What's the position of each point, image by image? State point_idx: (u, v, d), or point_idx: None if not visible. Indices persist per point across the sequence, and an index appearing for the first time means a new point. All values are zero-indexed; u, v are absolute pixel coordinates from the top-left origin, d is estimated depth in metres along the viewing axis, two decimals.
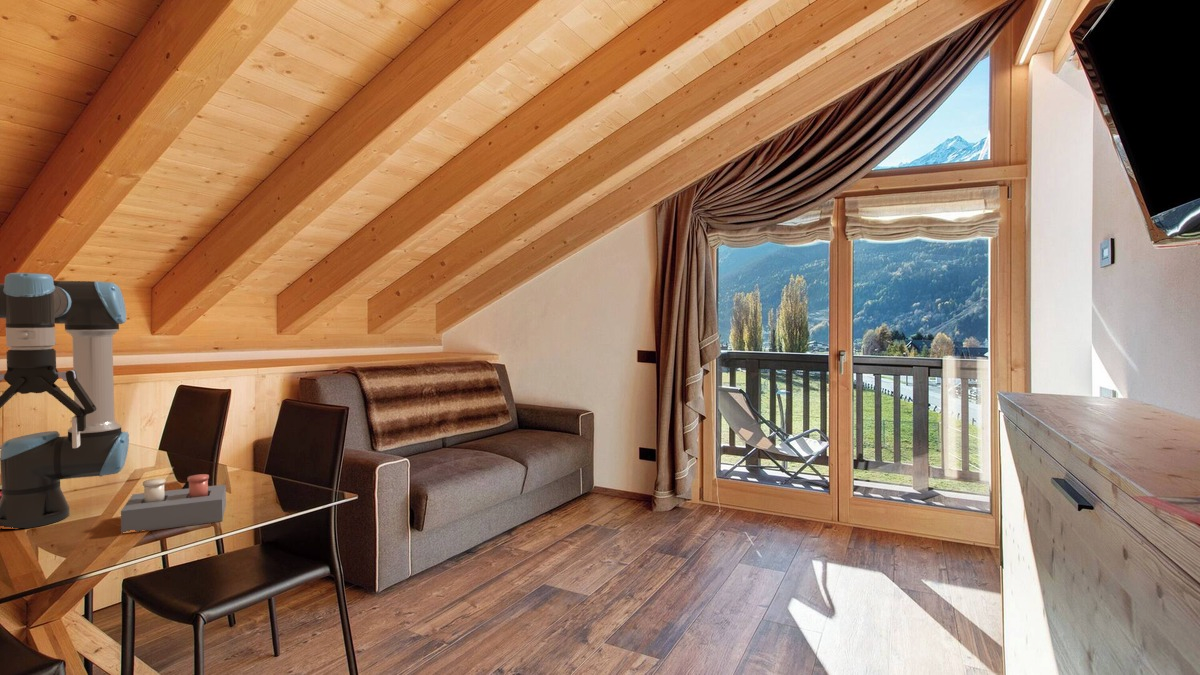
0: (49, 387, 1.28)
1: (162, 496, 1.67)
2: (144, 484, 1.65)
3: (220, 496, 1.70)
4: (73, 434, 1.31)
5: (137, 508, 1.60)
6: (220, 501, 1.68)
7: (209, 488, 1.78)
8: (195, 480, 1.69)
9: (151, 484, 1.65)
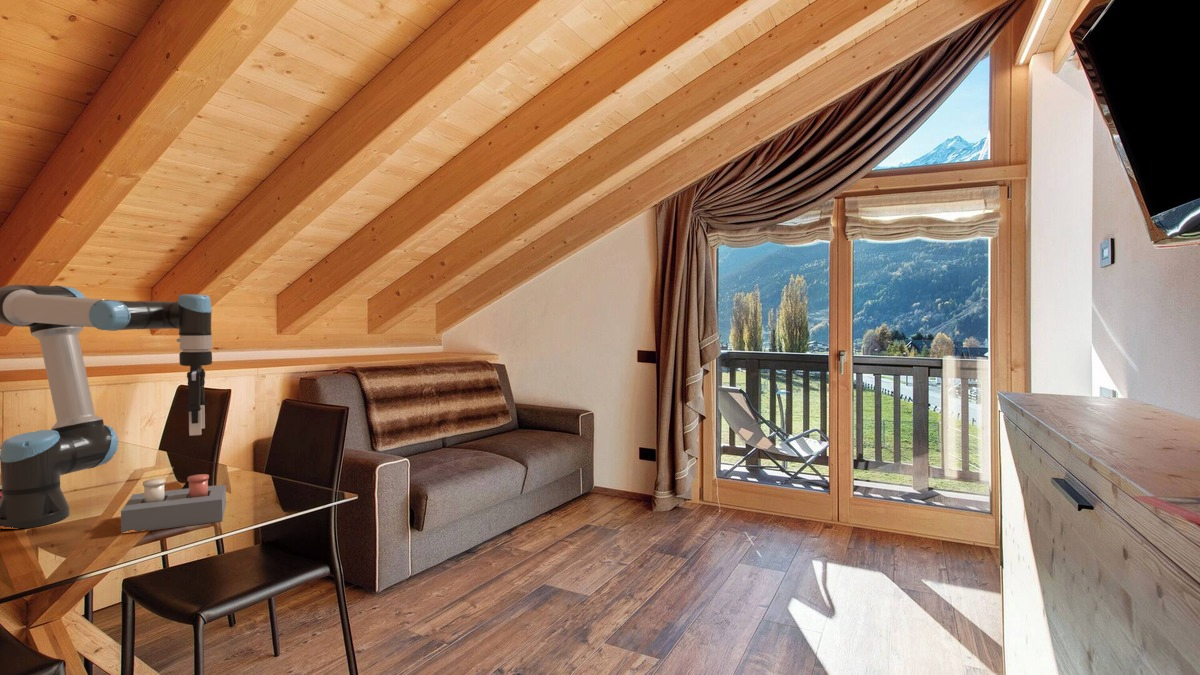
0: None
1: (162, 496, 1.67)
2: (144, 484, 1.65)
3: (220, 496, 1.70)
4: (189, 424, 1.66)
5: (137, 508, 1.60)
6: (220, 501, 1.68)
7: (209, 488, 1.78)
8: (195, 480, 1.69)
9: (151, 484, 1.65)
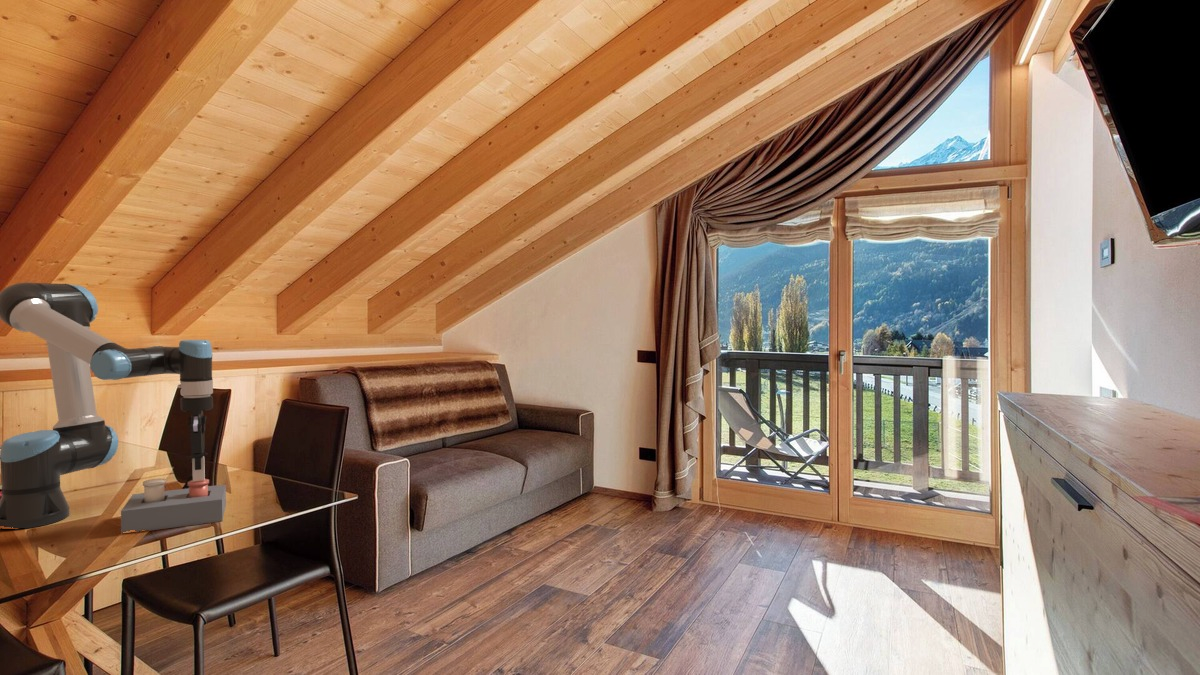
0: None
1: (162, 496, 1.67)
2: (144, 484, 1.65)
3: (220, 496, 1.70)
4: (192, 470, 1.71)
5: (137, 508, 1.60)
6: (220, 501, 1.68)
7: (209, 488, 1.78)
8: (195, 485, 1.69)
9: (151, 484, 1.65)
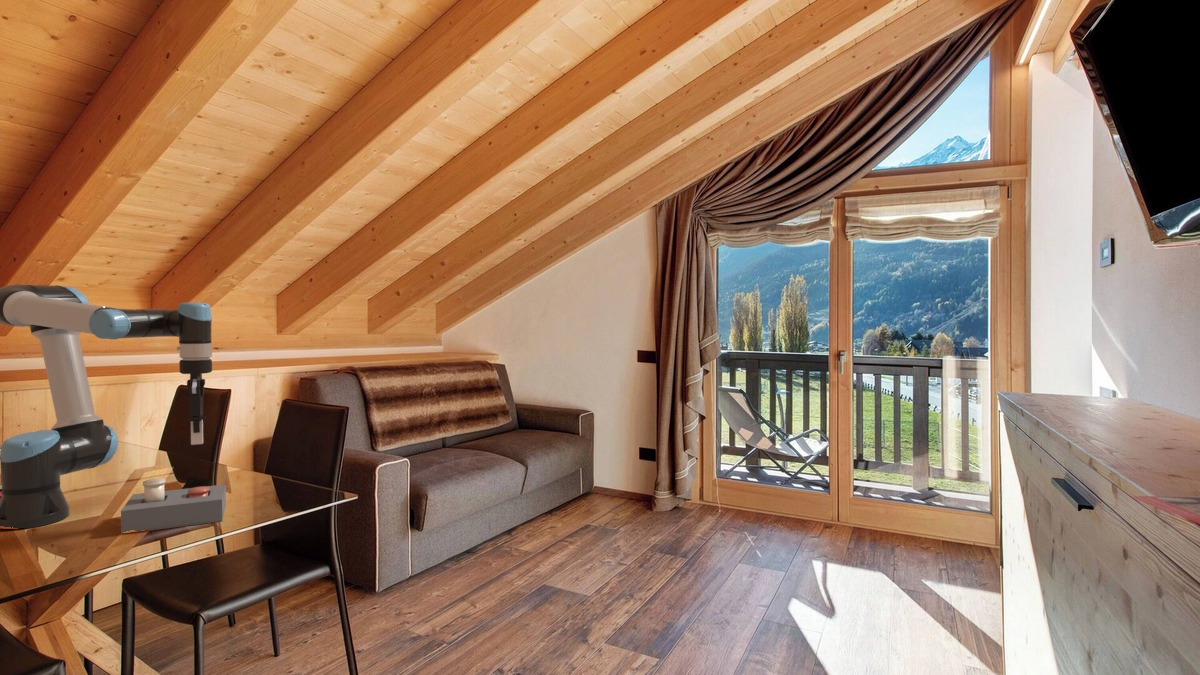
0: None
1: (162, 496, 1.67)
2: (144, 484, 1.65)
3: (220, 496, 1.70)
4: (191, 433, 1.70)
5: (137, 508, 1.60)
6: (220, 501, 1.68)
7: (209, 488, 1.78)
8: (195, 493, 1.70)
9: (151, 484, 1.65)
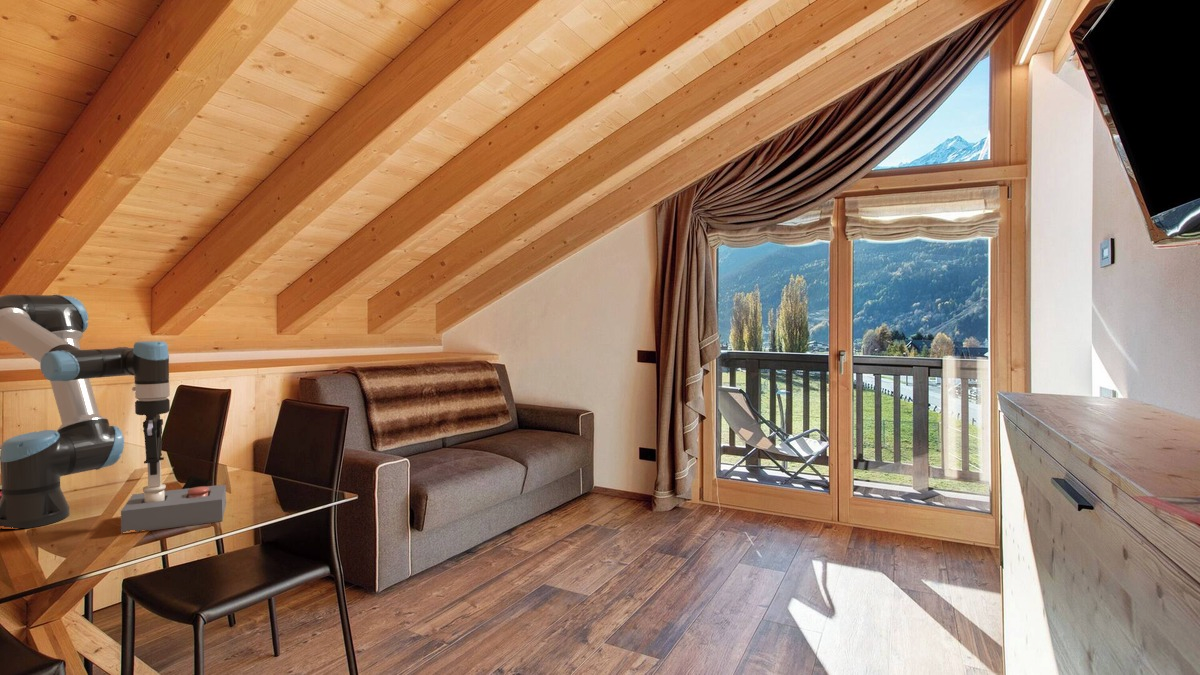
0: None
1: None
2: (144, 490, 1.65)
3: (220, 496, 1.70)
4: (148, 475, 1.66)
5: (137, 508, 1.60)
6: (220, 501, 1.68)
7: (209, 488, 1.78)
8: (195, 493, 1.70)
9: (151, 490, 1.65)
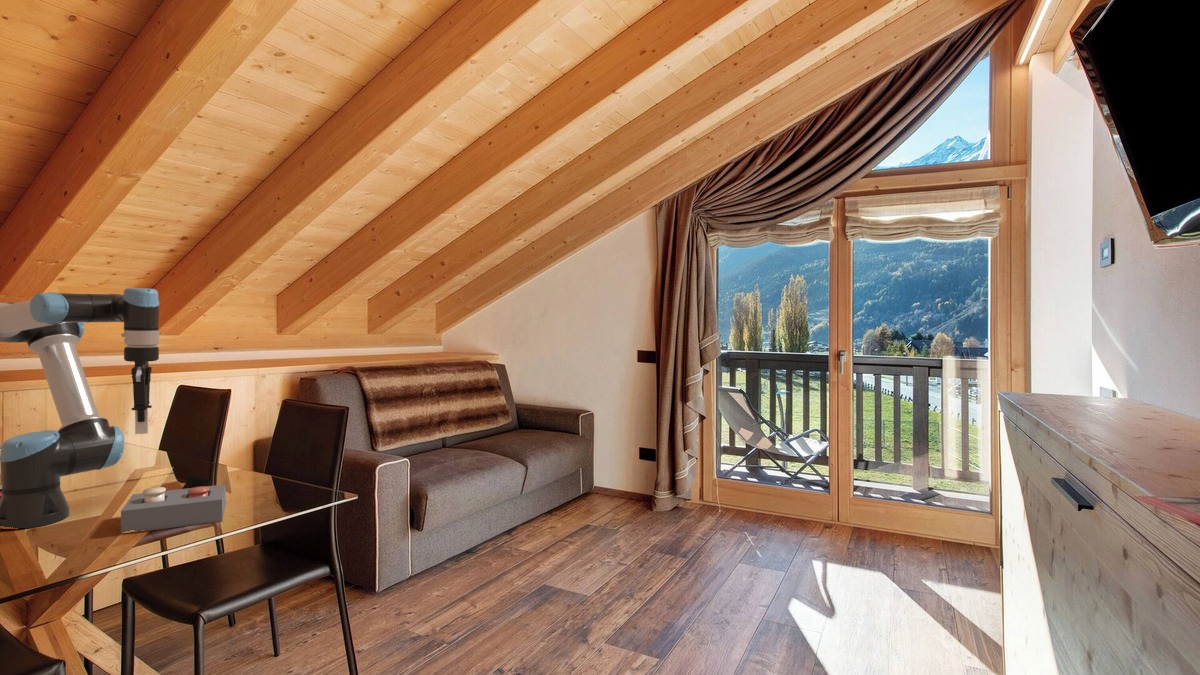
0: None
1: None
2: (144, 493, 1.65)
3: (220, 496, 1.70)
4: None
5: (137, 508, 1.60)
6: (220, 501, 1.68)
7: (209, 488, 1.78)
8: (195, 493, 1.70)
9: (151, 493, 1.65)
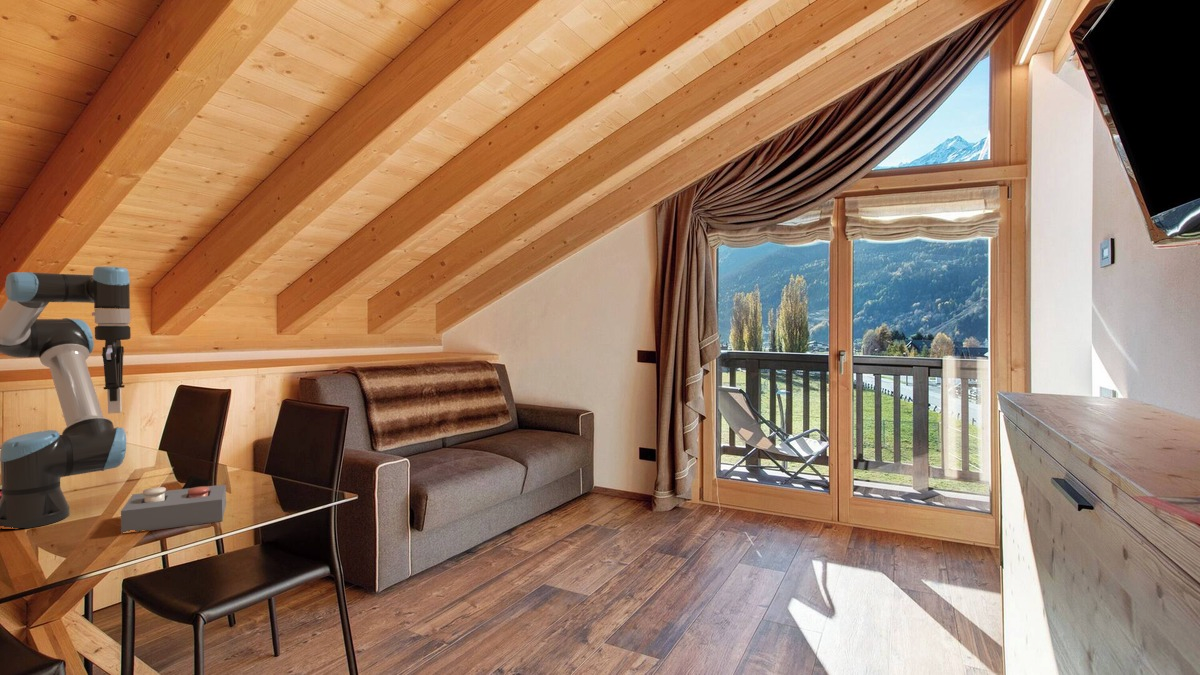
0: None
1: None
2: (144, 493, 1.65)
3: (220, 496, 1.70)
4: (108, 402, 1.65)
5: (137, 508, 1.60)
6: (220, 501, 1.68)
7: (209, 488, 1.78)
8: (195, 493, 1.70)
9: (151, 493, 1.65)
